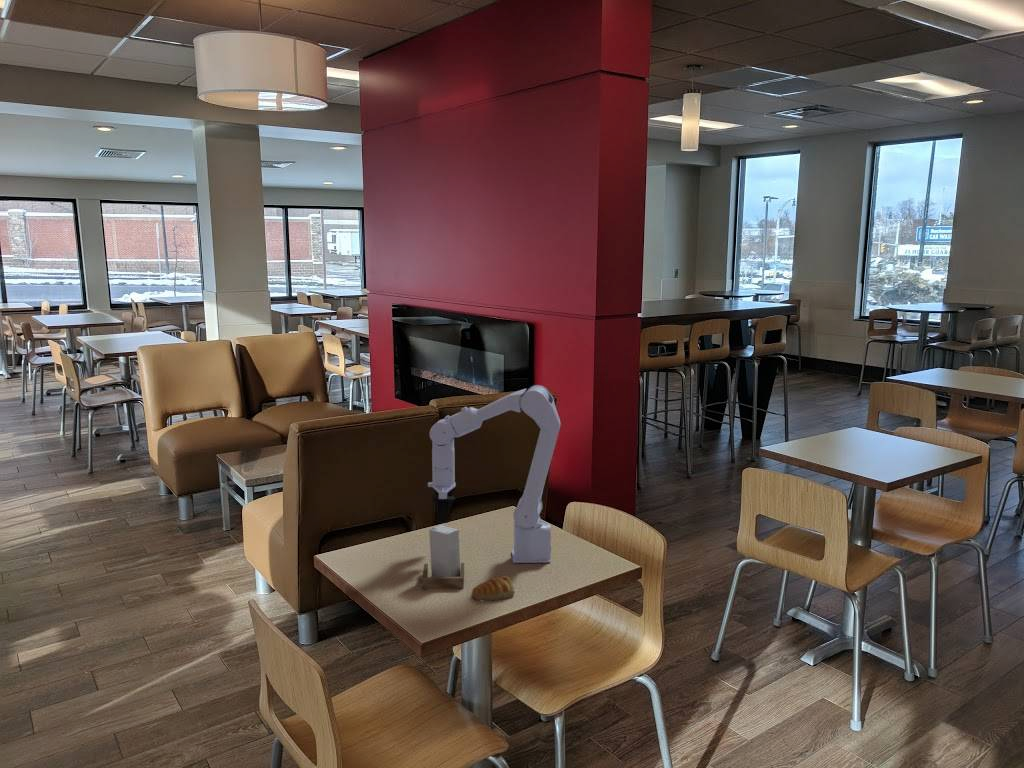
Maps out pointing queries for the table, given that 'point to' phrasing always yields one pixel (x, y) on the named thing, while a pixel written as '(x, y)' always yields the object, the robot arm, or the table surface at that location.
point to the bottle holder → (442, 580)
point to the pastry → (494, 589)
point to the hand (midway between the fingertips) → (444, 517)
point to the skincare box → (444, 552)
